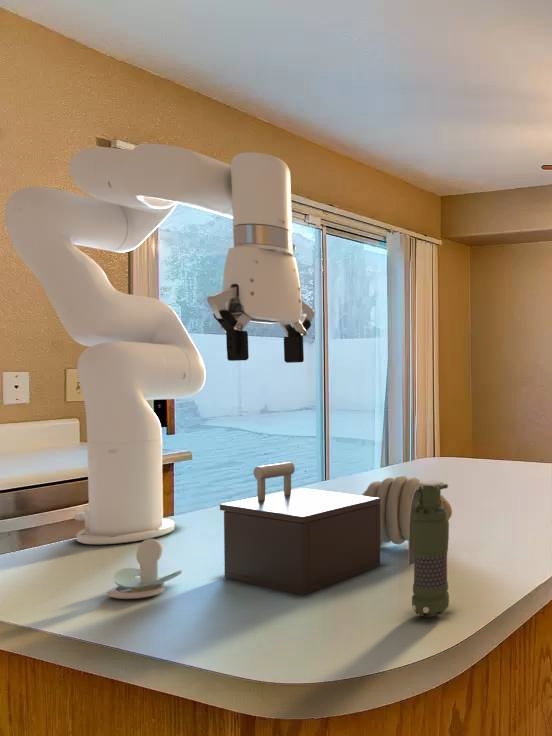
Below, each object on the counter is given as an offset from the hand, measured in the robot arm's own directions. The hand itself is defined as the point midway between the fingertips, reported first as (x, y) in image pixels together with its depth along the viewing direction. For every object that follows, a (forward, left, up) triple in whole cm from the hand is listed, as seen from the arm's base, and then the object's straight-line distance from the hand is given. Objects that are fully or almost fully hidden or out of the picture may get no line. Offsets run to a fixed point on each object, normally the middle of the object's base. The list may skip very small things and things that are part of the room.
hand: (267, 361), depth 87 cm
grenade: (+33, -16, -29) cm, 47 cm away
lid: (+10, -5, -20) cm, 23 cm away
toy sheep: (+16, +8, -29) cm, 34 cm away
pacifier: (-4, -17, -29) cm, 33 cm away
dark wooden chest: (+10, -6, -29) cm, 31 cm away
